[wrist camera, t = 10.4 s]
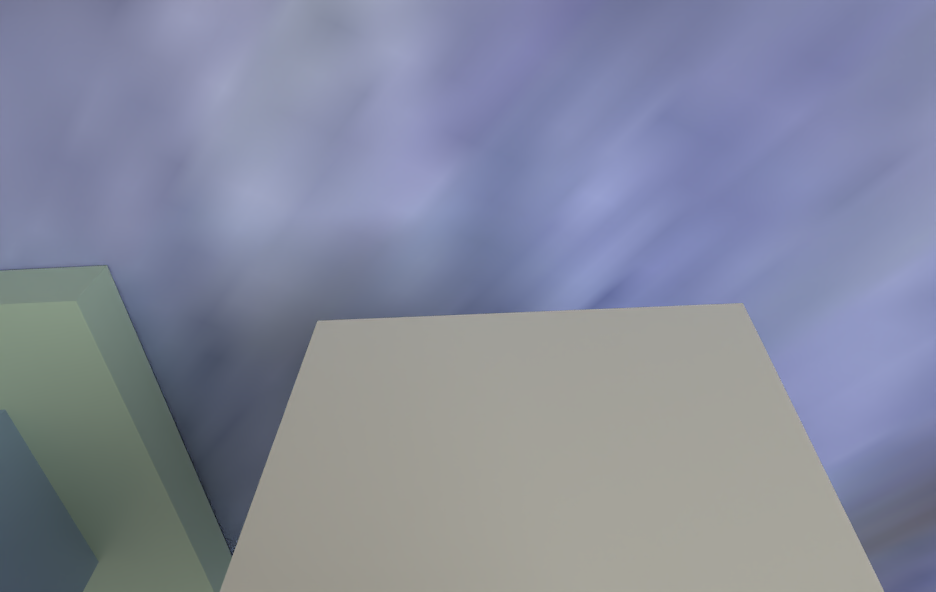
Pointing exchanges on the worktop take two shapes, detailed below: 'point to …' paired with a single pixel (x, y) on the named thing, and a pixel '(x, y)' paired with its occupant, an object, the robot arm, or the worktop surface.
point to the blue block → (36, 526)
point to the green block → (105, 432)
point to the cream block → (545, 462)
